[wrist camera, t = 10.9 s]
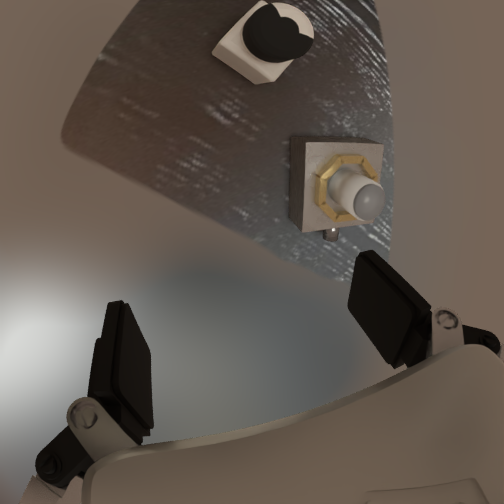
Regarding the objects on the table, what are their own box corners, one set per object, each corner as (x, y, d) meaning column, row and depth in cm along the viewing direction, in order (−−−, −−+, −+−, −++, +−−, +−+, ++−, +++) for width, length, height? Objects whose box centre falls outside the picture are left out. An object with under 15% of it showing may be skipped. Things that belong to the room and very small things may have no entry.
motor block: (290, 136, 35) (310, 144, 30) (363, 137, 37) (389, 146, 32) (288, 235, 43) (304, 256, 38) (353, 226, 45) (374, 243, 40)
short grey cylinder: (330, 169, 33) (356, 183, 28) (361, 168, 34) (389, 182, 29) (327, 205, 36) (351, 224, 31) (358, 202, 37) (383, 220, 32)
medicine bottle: (255, 85, 30) (292, 80, 20) (210, 53, 27) (226, 31, 17) (289, 48, 28) (336, 31, 18) (245, 15, 25) (278, -18, 15)
